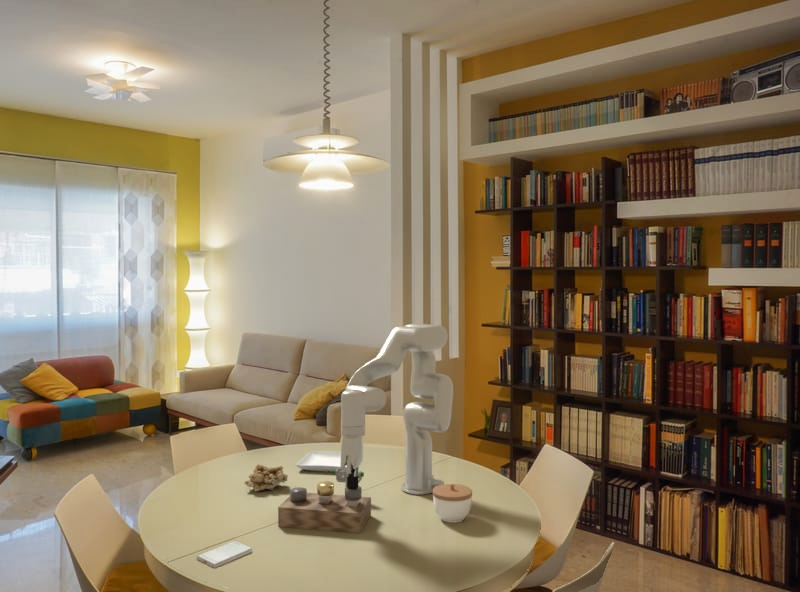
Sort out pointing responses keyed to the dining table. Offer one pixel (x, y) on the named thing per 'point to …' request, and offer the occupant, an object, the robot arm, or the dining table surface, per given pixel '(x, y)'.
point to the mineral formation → (266, 477)
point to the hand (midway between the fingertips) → (352, 488)
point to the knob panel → (325, 514)
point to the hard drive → (224, 554)
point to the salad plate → (321, 461)
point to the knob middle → (325, 492)
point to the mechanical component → (345, 475)
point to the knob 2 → (353, 496)
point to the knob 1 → (298, 494)
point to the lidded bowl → (452, 502)
